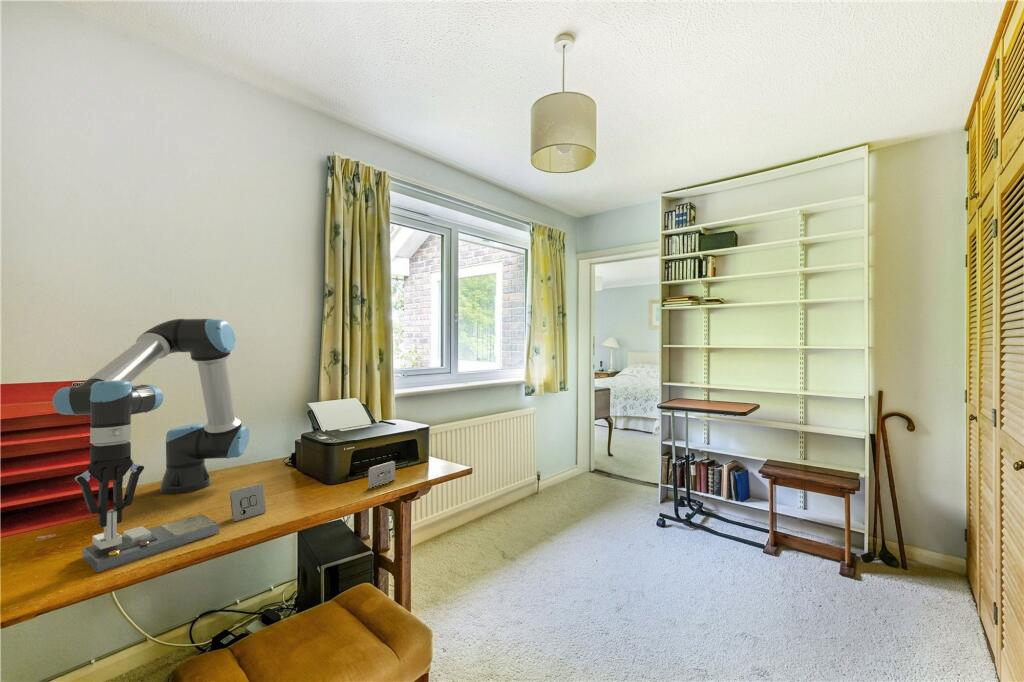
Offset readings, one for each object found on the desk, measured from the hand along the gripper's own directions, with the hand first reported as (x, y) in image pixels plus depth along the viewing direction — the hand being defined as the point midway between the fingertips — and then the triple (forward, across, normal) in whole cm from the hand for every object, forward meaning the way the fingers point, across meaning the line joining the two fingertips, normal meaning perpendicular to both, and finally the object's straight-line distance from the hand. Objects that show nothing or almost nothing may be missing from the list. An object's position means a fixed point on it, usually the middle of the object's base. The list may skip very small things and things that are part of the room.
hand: (110, 537), depth 109 cm
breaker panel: (+6, +10, +3) cm, 12 cm away
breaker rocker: (+1, 0, +4) cm, 4 cm away
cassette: (+6, +77, -8) cm, 78 cm away
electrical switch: (+6, +33, +3) cm, 34 cm away
